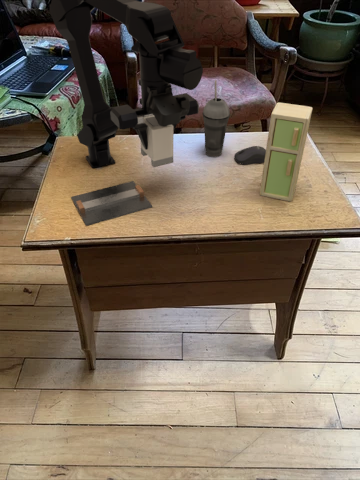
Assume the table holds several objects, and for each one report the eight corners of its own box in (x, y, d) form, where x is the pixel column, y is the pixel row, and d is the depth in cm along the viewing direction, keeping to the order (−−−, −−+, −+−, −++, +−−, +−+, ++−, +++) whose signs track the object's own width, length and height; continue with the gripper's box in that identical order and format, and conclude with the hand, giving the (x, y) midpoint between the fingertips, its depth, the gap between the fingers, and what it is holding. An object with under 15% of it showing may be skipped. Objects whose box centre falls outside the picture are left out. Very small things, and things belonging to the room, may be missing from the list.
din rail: (71, 198, 98) (70, 191, 97) (133, 182, 104) (132, 176, 103) (86, 226, 90) (85, 219, 89) (152, 207, 96) (152, 200, 95)
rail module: (141, 153, 97) (139, 116, 91) (160, 149, 99) (159, 112, 93) (153, 167, 93) (152, 129, 86) (173, 162, 94) (173, 124, 88)
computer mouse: (232, 156, 115) (233, 143, 112) (264, 154, 116) (266, 141, 113) (237, 166, 111) (238, 153, 108) (270, 164, 112) (272, 151, 109)
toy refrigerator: (257, 196, 99) (270, 114, 86) (264, 181, 105) (277, 101, 91) (290, 204, 97) (309, 120, 84) (295, 188, 102) (314, 106, 89)
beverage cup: (210, 162, 112) (215, 89, 99) (195, 151, 117) (198, 80, 104) (231, 155, 115) (238, 83, 102) (216, 144, 120) (221, 74, 107)
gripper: (127, 99, 75) (132, 172, 85) (214, 82, 82) (209, 152, 92) (105, 79, 82) (113, 149, 93) (187, 66, 89) (185, 132, 99)
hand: (156, 146), depth 94 cm, fingers closed on rail module, 5 cm apart
